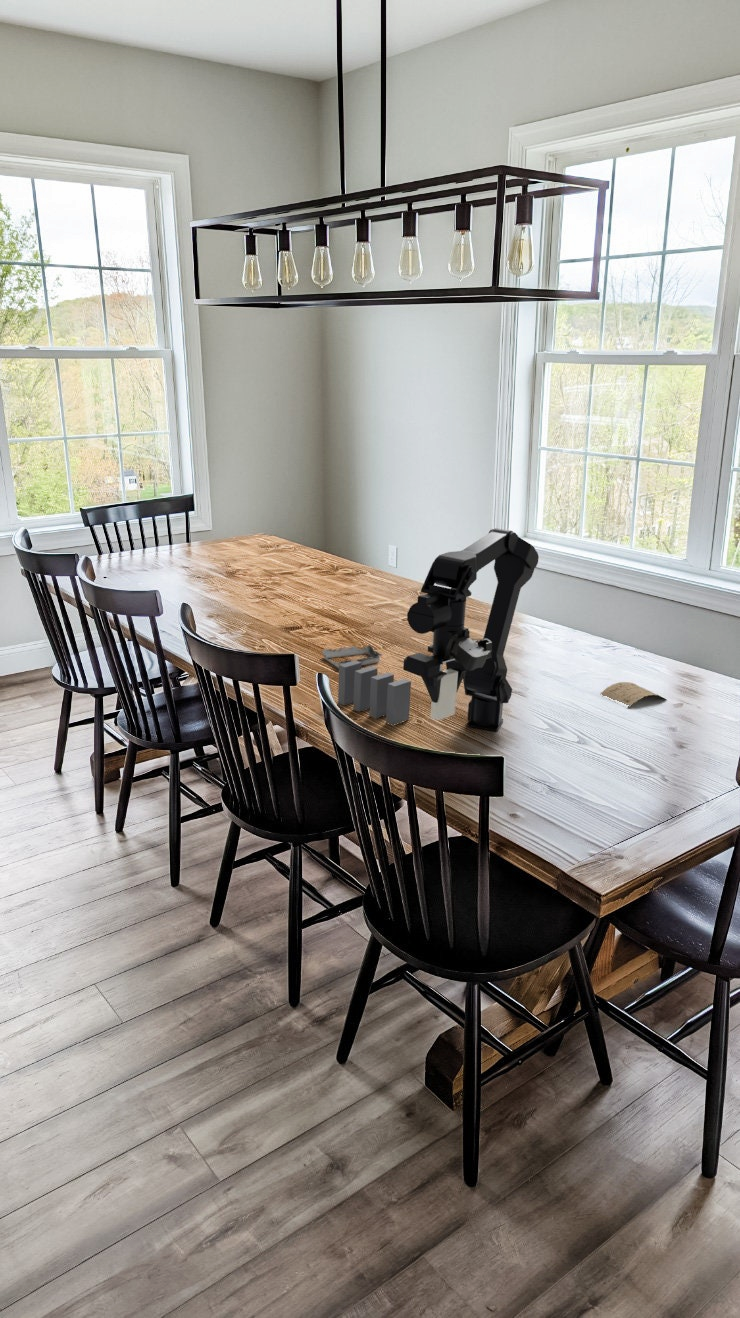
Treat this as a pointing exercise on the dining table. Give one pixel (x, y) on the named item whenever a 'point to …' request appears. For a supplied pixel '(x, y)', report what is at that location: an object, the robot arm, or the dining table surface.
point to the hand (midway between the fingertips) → (443, 699)
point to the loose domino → (446, 696)
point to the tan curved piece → (626, 692)
